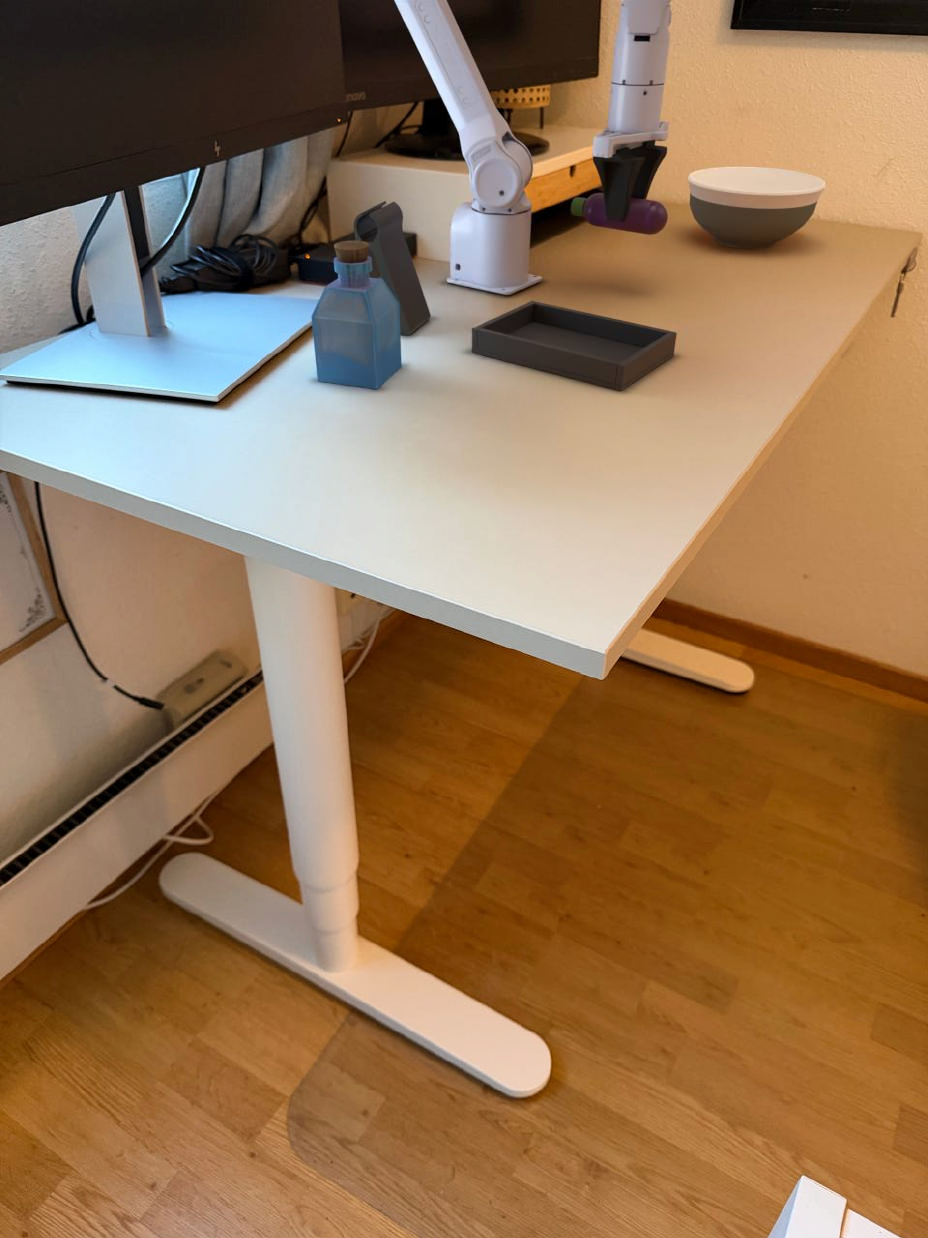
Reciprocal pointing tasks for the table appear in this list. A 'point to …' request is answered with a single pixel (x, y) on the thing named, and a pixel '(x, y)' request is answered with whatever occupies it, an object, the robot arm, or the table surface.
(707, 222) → the bowl
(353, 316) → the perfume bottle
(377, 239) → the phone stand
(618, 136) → the robot arm
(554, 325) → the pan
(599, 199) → the eggplant
